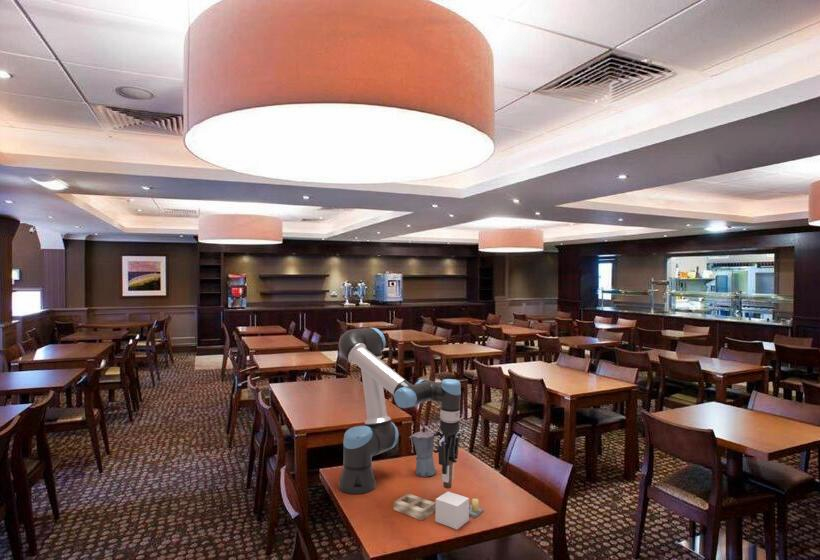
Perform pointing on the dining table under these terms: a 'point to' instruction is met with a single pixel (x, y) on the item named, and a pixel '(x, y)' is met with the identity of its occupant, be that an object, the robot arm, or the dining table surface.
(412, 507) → the socket board
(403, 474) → the dining table surface
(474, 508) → the board
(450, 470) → the peg
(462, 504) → the white cube block
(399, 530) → the dining table surface
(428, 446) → the moka pot
